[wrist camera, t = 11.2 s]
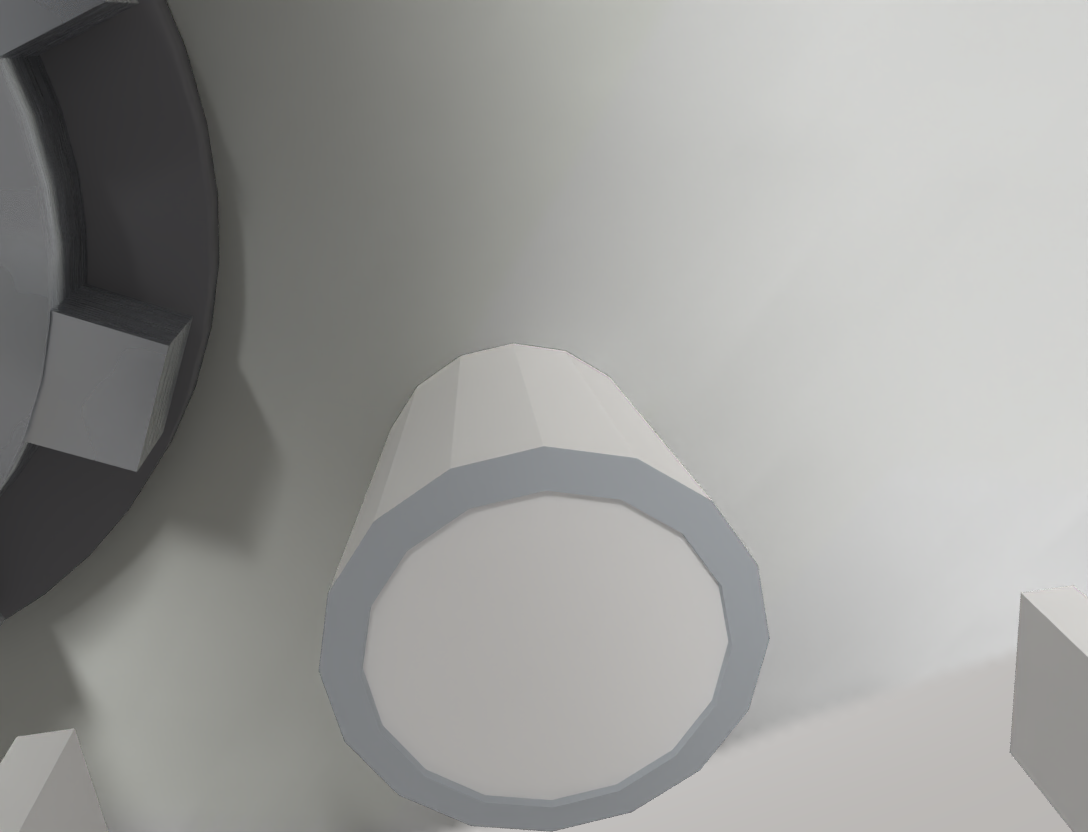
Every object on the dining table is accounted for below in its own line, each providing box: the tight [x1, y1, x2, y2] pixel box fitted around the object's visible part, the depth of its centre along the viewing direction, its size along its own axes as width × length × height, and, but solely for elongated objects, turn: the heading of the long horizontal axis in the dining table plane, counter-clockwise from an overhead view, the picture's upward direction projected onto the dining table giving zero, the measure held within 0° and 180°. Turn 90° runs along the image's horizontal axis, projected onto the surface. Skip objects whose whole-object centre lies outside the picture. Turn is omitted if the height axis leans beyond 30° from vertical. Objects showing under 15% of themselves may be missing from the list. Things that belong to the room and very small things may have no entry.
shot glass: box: [319, 343, 770, 831], centre depth 19 cm, size 7×7×7 cm
